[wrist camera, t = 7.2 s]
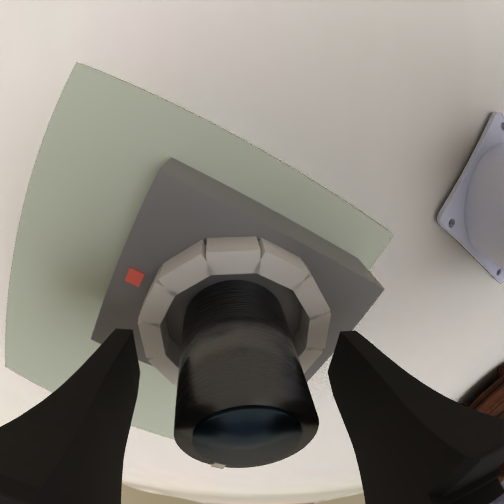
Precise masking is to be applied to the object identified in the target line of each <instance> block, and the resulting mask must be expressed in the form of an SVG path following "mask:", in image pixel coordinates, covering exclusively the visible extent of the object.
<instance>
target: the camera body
mask: <svg viewBox="0 0 504 504" xmlns="http://www.w3.org/2000/svg"><path fill="white" fill-rule="evenodd" d="M225 280H245V281H250V282H254V283H257V284H259V285H261V286H263V287H265V288H267V289H268V290H269V291H271V292H272V293H273V294H274V295H275V296H276V298H277V299H278V300H279V302H280V304H281V306H282V309H283V312H284V315H285V318H286V321H287V324H288V327H289V330H290V333H291V336H292V339H293V342H294V345H295V348H296V351H297V354H298V357H299V360H300V363H301V366H302V369H303V372H304V375H305V379H306V382H307V381H308V380H309V379H310V378H311V377H312V376H313V375H314V374H315V373H316V372H317V370H318V369H319V368H320V367H321V366H322V365H323V364H324V363H325V361H326V360H327V359H328V358H329V357H330V356H331V355H332V353H333V352H334V350H335V347H336V343H337V340H338V337H339V333H340V331H352V330H353V329H354V327H355V326H356V325H357V324H358V322H359V321H360V320H361V319H362V317H363V316H364V315H365V314H366V312H367V311H368V310H369V308H370V307H371V306H372V305H373V303H374V302H375V301H376V299H377V298H378V297H379V295H380V294H381V293H382V292H383V290H384V288H383V287H382V286H381V284H380V283H379V282H378V281H377V280H376V278H375V277H374V276H373V275H372V274H371V273H370V271H369V270H368V269H367V268H366V267H365V266H364V265H363V263H362V262H361V261H360V260H359V259H358V258H356V257H355V256H353V255H351V254H350V253H348V252H346V251H344V250H343V249H341V248H339V247H338V246H336V245H334V244H332V243H331V242H329V241H327V240H325V239H324V238H322V237H320V236H318V235H317V234H315V233H313V232H311V231H310V230H308V229H306V228H304V227H302V226H301V225H299V224H297V223H295V222H294V221H292V220H290V219H288V218H286V217H285V216H283V215H281V214H279V213H277V212H275V211H274V210H272V209H270V208H268V207H266V206H264V205H263V204H261V203H259V202H257V201H255V200H253V199H251V198H250V197H248V196H246V195H244V194H242V193H240V192H238V191H236V190H235V189H233V188H231V187H229V186H227V185H225V184H223V183H221V182H219V181H217V180H215V179H214V178H212V177H210V176H208V175H206V174H204V173H202V172H200V171H198V170H196V169H194V168H192V167H190V166H188V165H186V164H184V163H182V162H180V161H178V160H176V159H174V158H172V157H171V158H170V159H169V160H168V161H167V162H166V163H165V164H164V165H163V166H162V167H161V168H160V169H159V170H158V172H157V174H156V176H155V178H154V180H153V182H152V185H151V187H150V189H149V191H148V193H147V195H146V197H145V200H144V202H143V204H142V206H141V208H140V211H139V213H138V215H137V217H136V220H135V222H134V224H133V226H132V229H131V231H130V233H129V236H128V238H127V241H126V243H125V245H124V248H123V250H122V253H121V255H120V258H119V260H118V263H117V265H116V268H115V271H114V273H113V276H112V279H111V281H110V284H109V287H108V289H107V292H106V295H105V298H104V301H103V303H102V306H101V309H100V312H99V315H98V318H97V321H96V324H95V327H94V330H93V333H92V336H91V340H93V341H95V342H97V343H100V344H102V343H103V342H104V341H105V340H106V339H107V337H108V336H109V335H110V334H111V333H112V332H113V331H114V330H115V329H116V328H118V329H132V330H133V334H134V340H135V346H136V351H137V357H138V360H139V361H141V362H144V363H146V364H149V365H151V366H154V367H155V368H156V369H157V370H158V371H159V372H160V373H161V374H162V375H163V376H165V377H166V378H167V379H168V380H169V381H170V382H171V383H172V384H173V385H174V386H176V385H177V382H178V371H179V360H180V350H181V341H182V331H183V322H184V314H185V311H186V308H187V306H188V304H189V303H190V301H191V300H192V298H193V297H194V296H195V295H196V294H197V293H198V292H200V291H201V290H202V289H204V288H206V287H207V286H210V285H212V284H214V283H217V282H221V281H225Z"/></svg>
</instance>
